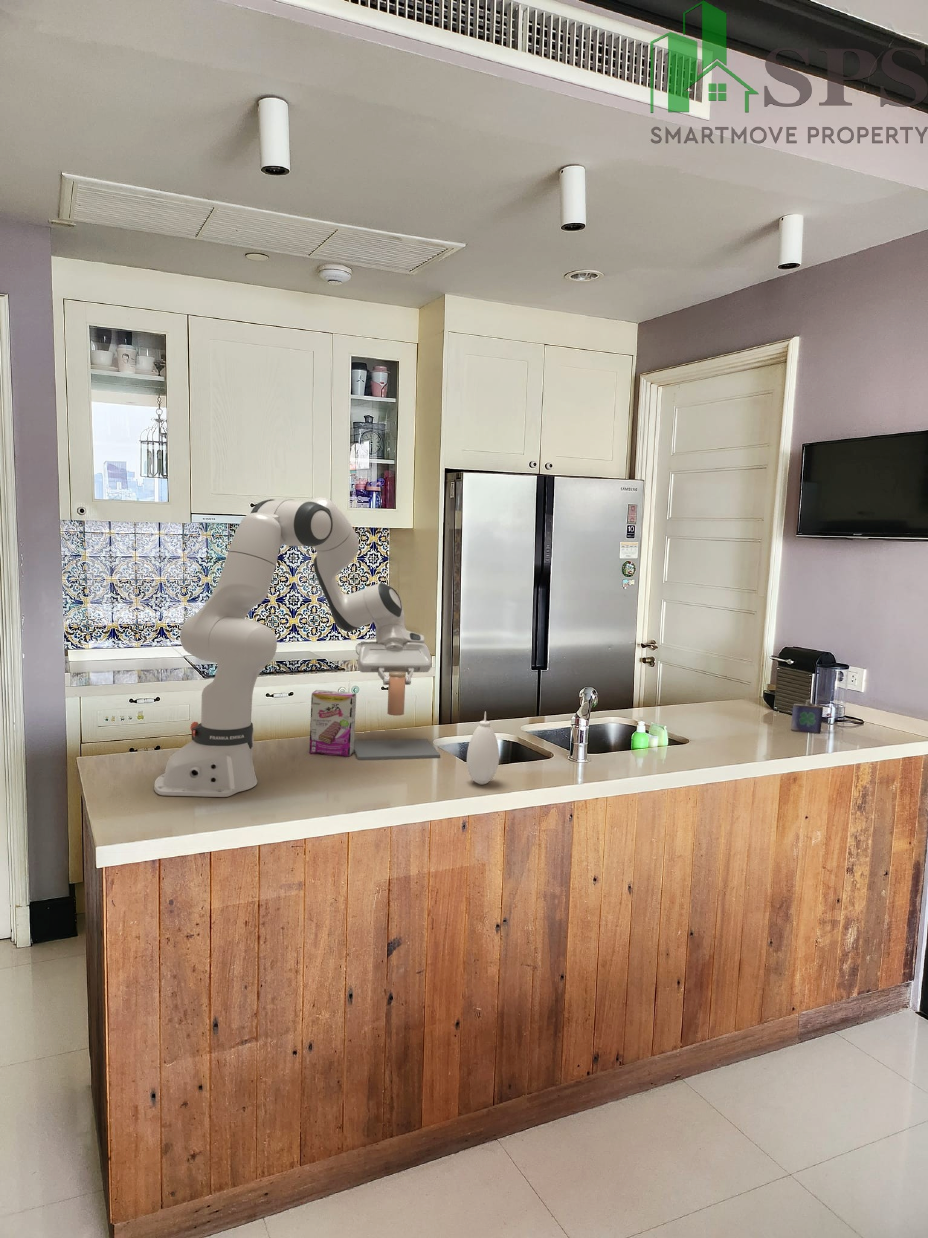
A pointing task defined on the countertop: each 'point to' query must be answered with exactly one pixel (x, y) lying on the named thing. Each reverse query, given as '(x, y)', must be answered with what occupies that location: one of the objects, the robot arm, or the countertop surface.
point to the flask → (807, 718)
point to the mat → (394, 749)
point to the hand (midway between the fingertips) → (397, 683)
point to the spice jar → (396, 693)
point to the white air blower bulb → (483, 753)
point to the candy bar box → (332, 723)
